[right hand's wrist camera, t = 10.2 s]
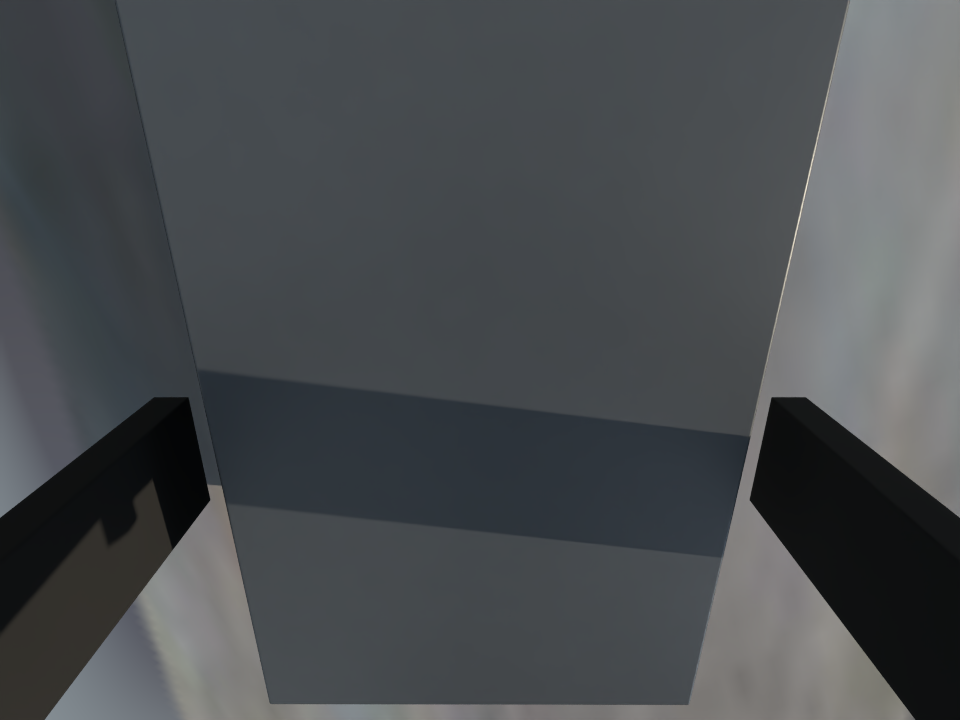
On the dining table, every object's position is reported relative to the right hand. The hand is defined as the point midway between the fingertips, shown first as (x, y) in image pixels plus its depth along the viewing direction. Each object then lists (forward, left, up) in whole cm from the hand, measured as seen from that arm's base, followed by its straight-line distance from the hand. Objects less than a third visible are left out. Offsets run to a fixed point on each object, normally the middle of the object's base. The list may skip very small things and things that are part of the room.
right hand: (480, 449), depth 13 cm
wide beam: (+16, +28, -5) cm, 33 cm away
